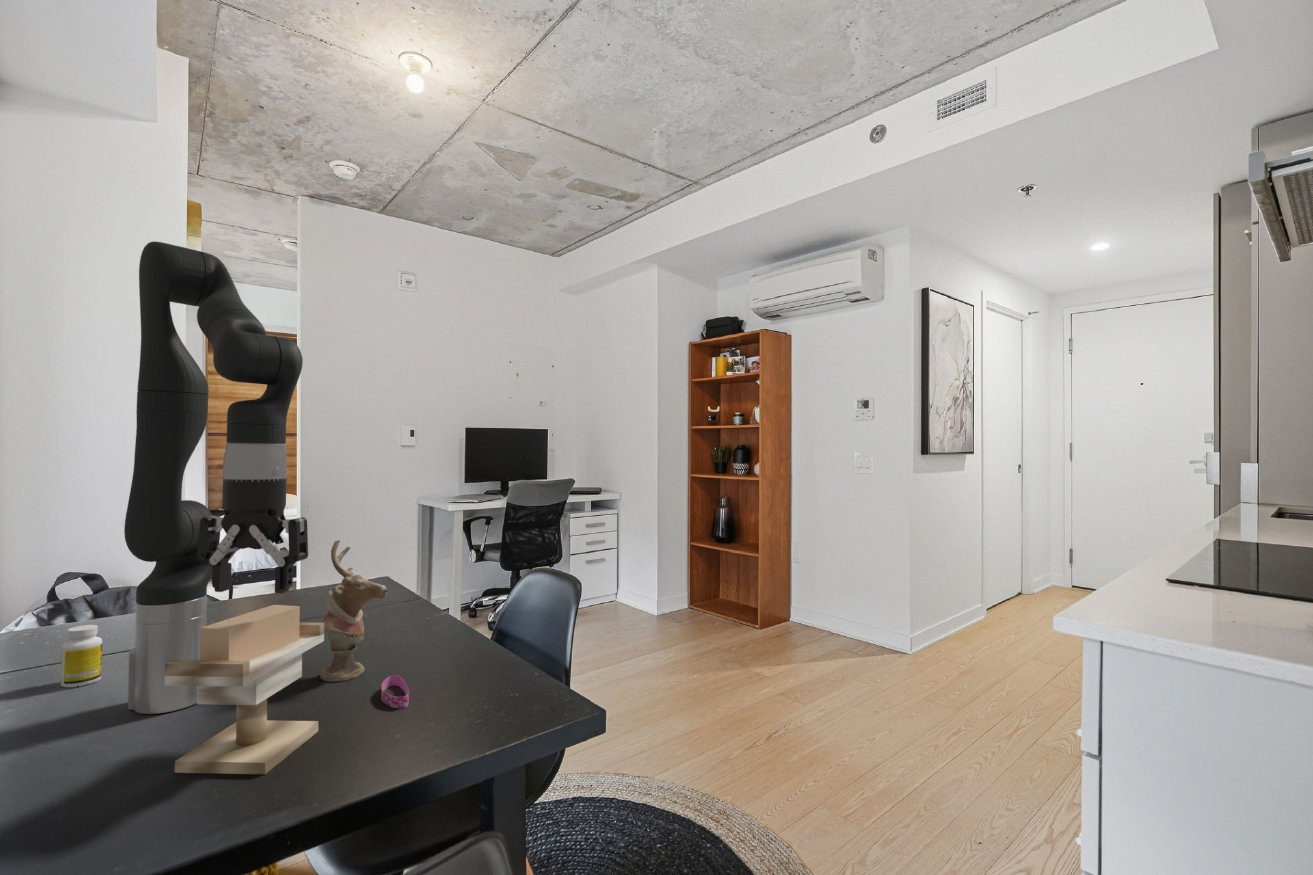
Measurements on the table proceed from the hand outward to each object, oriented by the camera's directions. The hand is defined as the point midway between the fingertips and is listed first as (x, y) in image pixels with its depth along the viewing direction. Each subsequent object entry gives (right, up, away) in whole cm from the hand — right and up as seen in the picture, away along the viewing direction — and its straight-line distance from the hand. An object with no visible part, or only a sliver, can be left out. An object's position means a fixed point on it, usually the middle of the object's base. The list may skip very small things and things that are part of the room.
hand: (252, 591), depth 86 cm
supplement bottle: (-46, -23, +24) cm, 57 cm away
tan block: (0, -9, 0) cm, 9 cm away
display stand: (0, -22, 0) cm, 22 cm away
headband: (+12, -23, +19) cm, 32 cm away
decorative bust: (0, -23, +28) cm, 36 cm away
